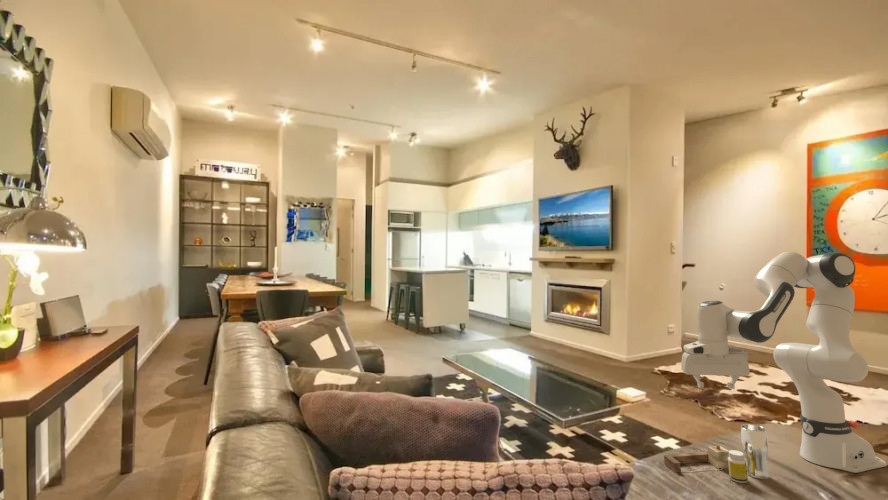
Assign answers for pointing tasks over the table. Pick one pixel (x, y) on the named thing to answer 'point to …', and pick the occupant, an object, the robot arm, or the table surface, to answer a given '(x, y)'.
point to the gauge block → (718, 456)
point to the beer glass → (755, 450)
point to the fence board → (685, 460)
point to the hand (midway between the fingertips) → (715, 387)
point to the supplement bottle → (737, 466)
